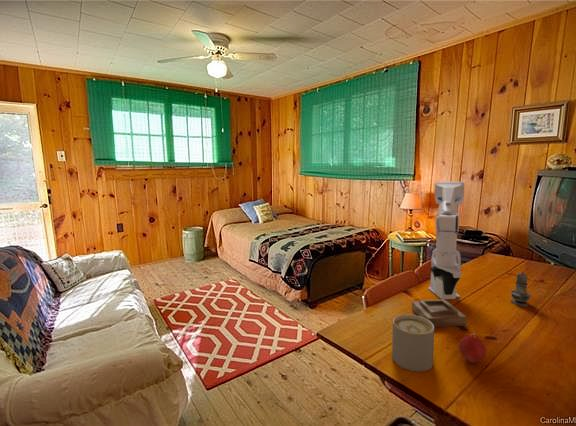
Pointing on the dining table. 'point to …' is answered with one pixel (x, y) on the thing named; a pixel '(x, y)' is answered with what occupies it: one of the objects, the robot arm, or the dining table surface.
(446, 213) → the robot arm
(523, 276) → the salt shaker
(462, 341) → the onion
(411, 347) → the grey can
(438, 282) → the block
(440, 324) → the taupe stepped square slab
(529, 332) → the dining table surface
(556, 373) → the dining table surface
